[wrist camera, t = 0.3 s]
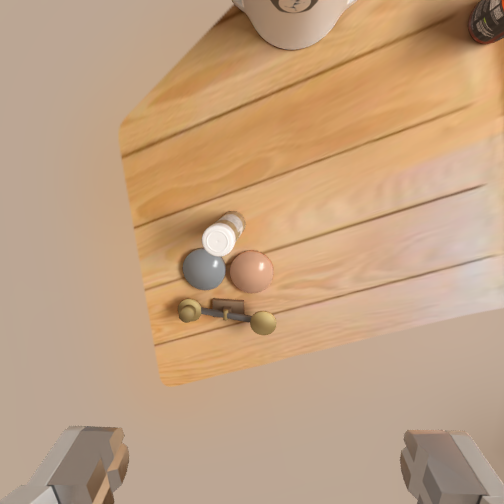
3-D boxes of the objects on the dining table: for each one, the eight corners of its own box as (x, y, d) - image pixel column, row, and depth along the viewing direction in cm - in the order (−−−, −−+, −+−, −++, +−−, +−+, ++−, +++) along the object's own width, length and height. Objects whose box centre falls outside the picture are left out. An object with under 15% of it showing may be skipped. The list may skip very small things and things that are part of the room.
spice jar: (231, 239, 55) (214, 263, 43) (216, 219, 55) (194, 237, 42) (251, 225, 54) (240, 245, 41) (236, 205, 53) (219, 218, 41)
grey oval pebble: (183, 246, 57) (181, 248, 56) (225, 249, 56) (224, 250, 55) (185, 286, 59) (183, 288, 58) (226, 288, 58) (224, 291, 57)
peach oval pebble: (231, 249, 56) (229, 251, 55) (274, 251, 55) (274, 253, 54) (231, 289, 58) (230, 291, 57) (272, 291, 57) (272, 294, 56)
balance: (181, 293, 60) (171, 305, 55) (277, 300, 58) (276, 313, 53) (182, 314, 61) (173, 328, 56) (276, 321, 59) (275, 336, 54)
